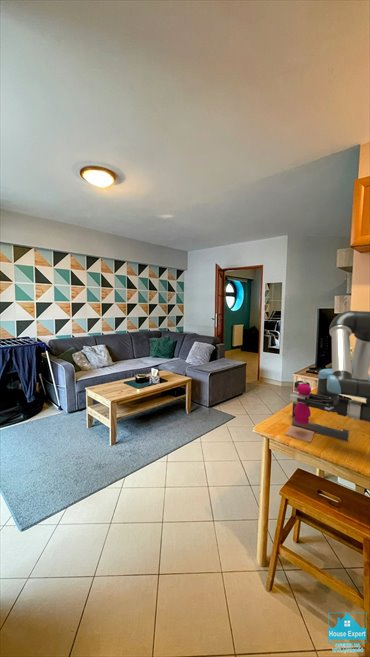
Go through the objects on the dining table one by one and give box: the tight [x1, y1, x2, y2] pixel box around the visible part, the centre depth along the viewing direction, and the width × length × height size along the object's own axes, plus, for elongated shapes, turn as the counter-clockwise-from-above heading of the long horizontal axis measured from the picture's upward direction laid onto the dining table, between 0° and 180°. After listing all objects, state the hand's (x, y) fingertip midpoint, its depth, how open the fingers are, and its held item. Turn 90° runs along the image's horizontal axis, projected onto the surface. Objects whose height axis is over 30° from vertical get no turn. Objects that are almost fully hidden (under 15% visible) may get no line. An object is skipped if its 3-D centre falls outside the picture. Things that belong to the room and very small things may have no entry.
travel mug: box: [291, 380, 311, 417], centre depth 139 cm, size 8×8×20 cm
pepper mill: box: [294, 380, 312, 424], centre depth 121 cm, size 7×7×20 cm
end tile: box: [285, 424, 316, 444], centre depth 123 cm, size 11×11×1 cm
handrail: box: [291, 416, 350, 443], centre depth 125 cm, size 24×2×4 cm, turn 55°
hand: (291, 395), depth 124 cm, fingers closed on pepper mill, 5 cm apart
